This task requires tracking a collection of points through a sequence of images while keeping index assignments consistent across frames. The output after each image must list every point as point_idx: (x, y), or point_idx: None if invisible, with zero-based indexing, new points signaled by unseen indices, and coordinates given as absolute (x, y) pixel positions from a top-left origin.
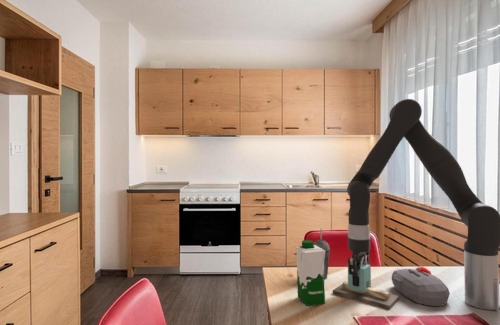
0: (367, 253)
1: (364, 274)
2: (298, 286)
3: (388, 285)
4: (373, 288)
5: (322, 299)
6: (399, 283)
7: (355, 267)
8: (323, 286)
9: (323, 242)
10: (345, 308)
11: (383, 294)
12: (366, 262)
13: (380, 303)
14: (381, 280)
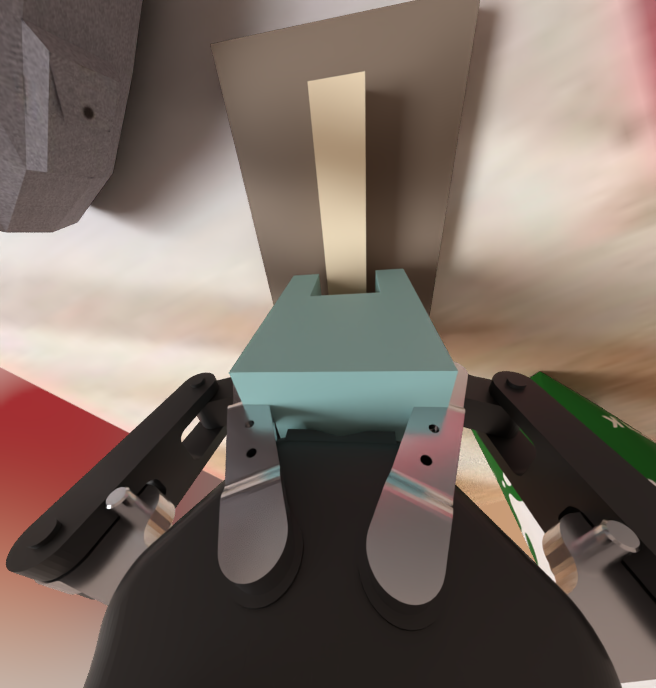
0: (83, 538)
1: (434, 330)
2: None
3: (112, 245)
4: (326, 242)
5: (569, 389)
6: (77, 60)
7: (612, 462)
8: (607, 442)
9: None
10: (570, 283)
11: (363, 125)
12: (248, 428)
13: (462, 106)
14: (102, 301)
